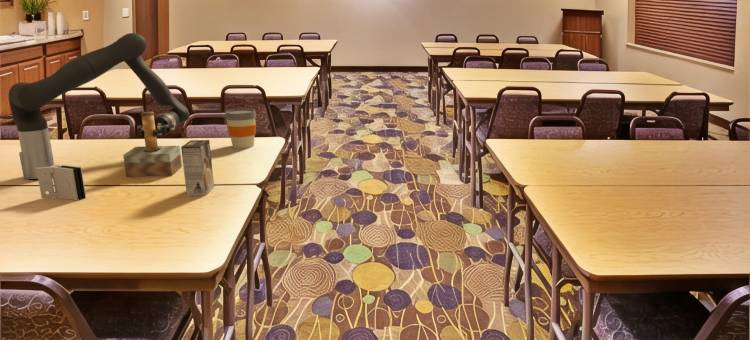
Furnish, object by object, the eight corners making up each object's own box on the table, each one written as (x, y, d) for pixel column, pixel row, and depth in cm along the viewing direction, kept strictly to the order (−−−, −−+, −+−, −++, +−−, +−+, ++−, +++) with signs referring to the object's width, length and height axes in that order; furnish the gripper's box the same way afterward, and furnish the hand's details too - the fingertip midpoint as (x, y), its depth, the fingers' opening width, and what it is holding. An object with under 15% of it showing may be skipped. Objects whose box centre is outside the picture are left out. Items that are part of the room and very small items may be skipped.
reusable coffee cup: (262, 142, 252) (259, 108, 248) (253, 149, 240) (250, 113, 235) (233, 142, 253) (231, 108, 249) (223, 149, 241) (220, 113, 237)
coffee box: (195, 187, 191) (190, 139, 187) (214, 187, 191) (210, 139, 187) (186, 196, 182) (180, 146, 178) (206, 195, 182) (201, 146, 178)
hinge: (40, 199, 182) (35, 168, 179) (52, 194, 187) (47, 163, 184) (80, 200, 180) (75, 169, 177) (91, 195, 185) (86, 164, 182)
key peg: (144, 159, 207) (138, 113, 202) (149, 156, 211) (143, 111, 206) (157, 159, 207) (151, 113, 202) (161, 156, 211) (155, 111, 206)
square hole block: (126, 176, 204) (123, 154, 202) (138, 167, 216) (135, 146, 213) (171, 175, 205) (169, 153, 202) (181, 166, 216) (179, 145, 214)
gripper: (142, 115, 219) (125, 124, 202) (180, 114, 219) (166, 123, 203) (145, 134, 221) (128, 145, 204) (182, 133, 221) (168, 144, 205)
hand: (147, 134), depth 203 cm, fingers closed on key peg, 4 cm apart
